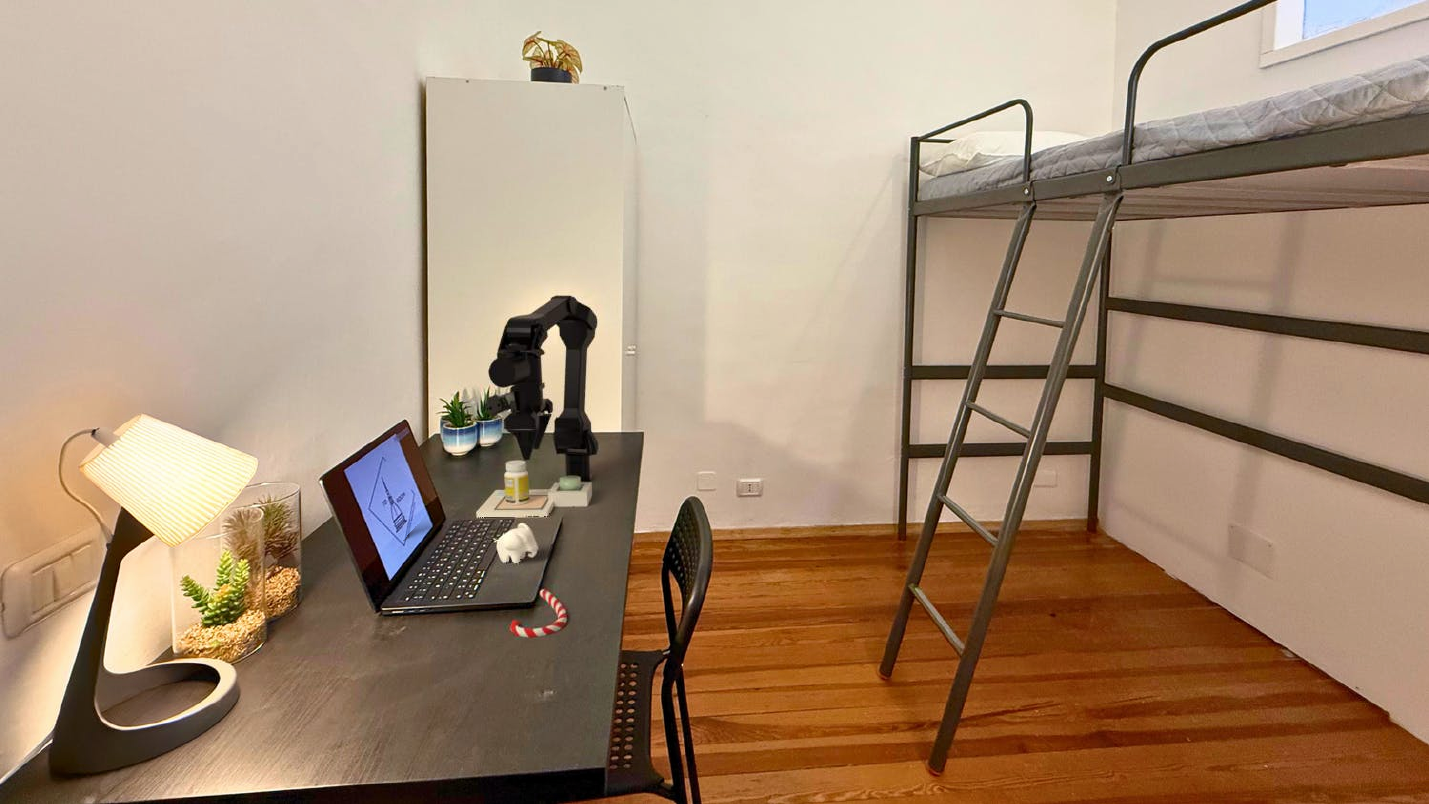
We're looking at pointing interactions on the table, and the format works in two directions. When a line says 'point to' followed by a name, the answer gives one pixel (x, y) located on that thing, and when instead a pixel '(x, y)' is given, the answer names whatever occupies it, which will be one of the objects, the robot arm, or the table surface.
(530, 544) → the elephant figurine
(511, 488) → the supplement bottle
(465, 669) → the table surface
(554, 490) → the button box
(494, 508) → the colouring board
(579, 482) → the button
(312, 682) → the table surface
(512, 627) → the candy cane
